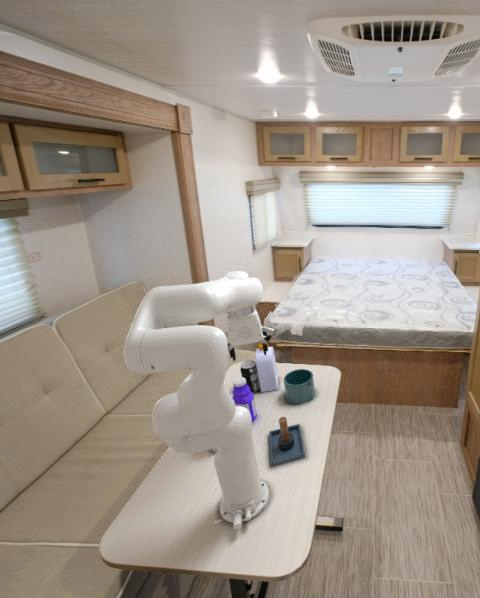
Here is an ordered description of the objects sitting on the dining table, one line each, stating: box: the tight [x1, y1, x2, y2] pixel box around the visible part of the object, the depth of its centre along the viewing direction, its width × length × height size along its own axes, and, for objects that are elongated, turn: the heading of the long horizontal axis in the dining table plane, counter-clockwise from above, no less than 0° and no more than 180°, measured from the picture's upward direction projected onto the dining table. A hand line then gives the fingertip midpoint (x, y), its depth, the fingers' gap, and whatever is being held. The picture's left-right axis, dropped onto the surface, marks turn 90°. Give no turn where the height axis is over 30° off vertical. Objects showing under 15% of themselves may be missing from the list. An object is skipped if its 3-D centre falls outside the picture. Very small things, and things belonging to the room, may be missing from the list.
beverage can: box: [239, 359, 261, 393], centre depth 140 cm, size 7×7×12 cm
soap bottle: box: [254, 335, 279, 393], centre depth 141 cm, size 9×7×23 cm
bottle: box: [232, 376, 258, 423], centre depth 122 cm, size 7×6×17 cm
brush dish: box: [268, 423, 306, 467], centre depth 114 cm, size 14×10×2 cm
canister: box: [283, 368, 316, 406], centre depth 137 cm, size 11×11×9 cm
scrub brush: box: [278, 416, 295, 451], centre depth 112 cm, size 5×5×11 cm
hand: (250, 356), depth 116 cm, fingers open, 9 cm apart
